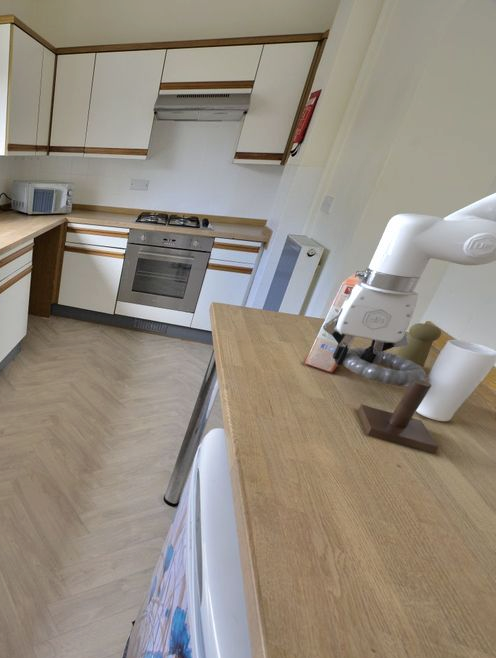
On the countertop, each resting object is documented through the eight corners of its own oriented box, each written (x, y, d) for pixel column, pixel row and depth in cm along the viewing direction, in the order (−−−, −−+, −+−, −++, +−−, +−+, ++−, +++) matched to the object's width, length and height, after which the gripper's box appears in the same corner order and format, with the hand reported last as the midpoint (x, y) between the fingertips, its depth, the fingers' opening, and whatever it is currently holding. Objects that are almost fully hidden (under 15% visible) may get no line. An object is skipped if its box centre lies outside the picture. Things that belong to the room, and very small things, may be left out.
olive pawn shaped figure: (387, 358, 104) (408, 318, 99) (419, 365, 101) (443, 325, 96) (390, 366, 100) (413, 325, 95) (424, 375, 97) (450, 333, 92)
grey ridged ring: (410, 368, 86) (417, 356, 85) (431, 396, 76) (440, 383, 75) (334, 352, 92) (339, 340, 91) (344, 376, 82) (350, 363, 81)
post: (417, 426, 77) (447, 379, 73) (434, 453, 70) (468, 403, 66) (357, 410, 81) (382, 364, 77) (367, 434, 74) (395, 385, 70)
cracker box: (333, 374, 95) (376, 288, 85) (303, 364, 99) (340, 281, 89) (346, 357, 103) (386, 277, 94) (317, 349, 107) (353, 271, 98)
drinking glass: (400, 408, 83) (439, 341, 76) (418, 402, 85) (457, 337, 79) (444, 428, 77) (490, 357, 71) (462, 421, 80) (508, 353, 73)
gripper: (338, 278, 79) (303, 361, 87) (456, 294, 72) (406, 384, 80) (332, 270, 85) (300, 348, 93) (440, 284, 78) (395, 368, 86)
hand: (349, 364), depth 86 cm, fingers closed on grey ridged ring, 3 cm apart
